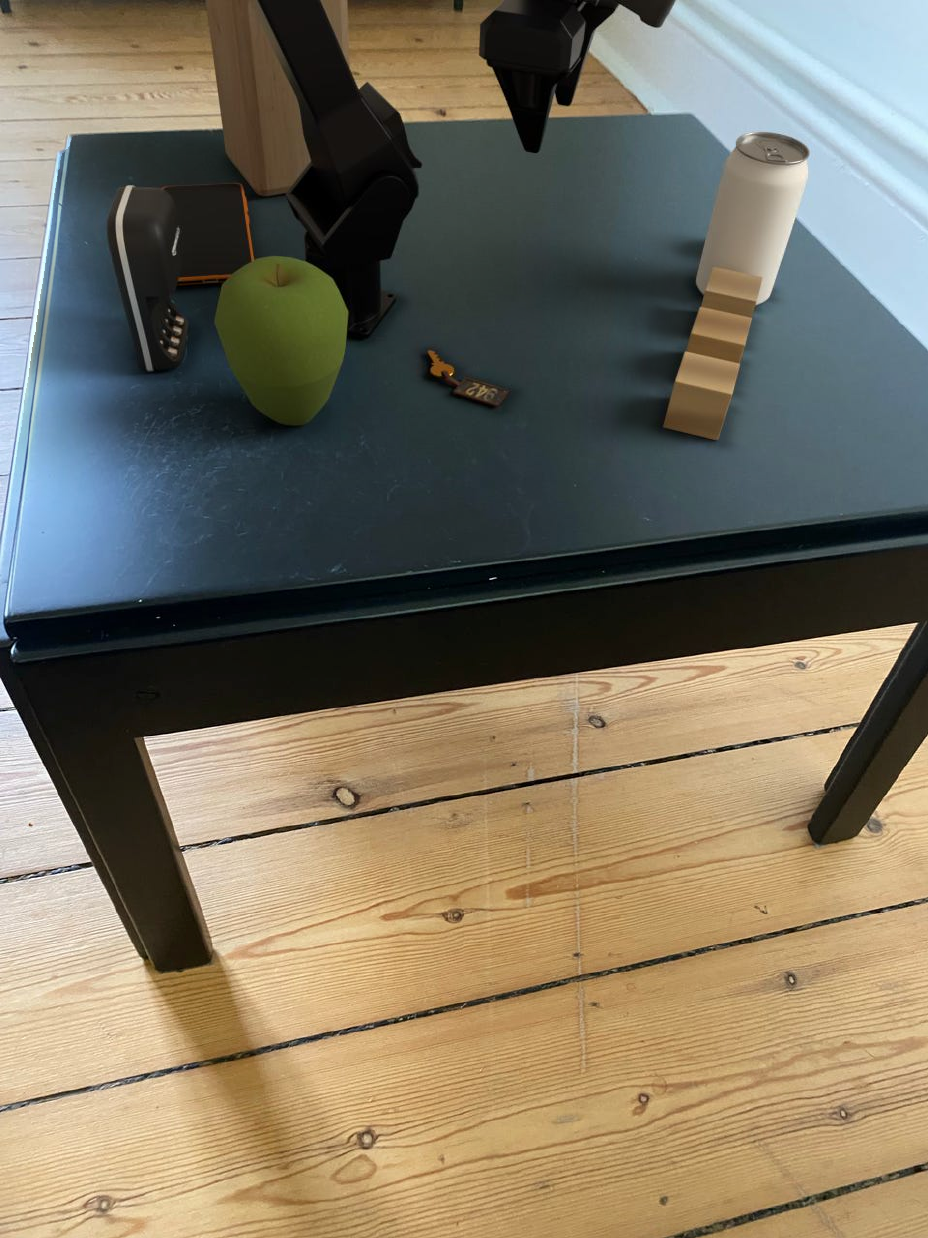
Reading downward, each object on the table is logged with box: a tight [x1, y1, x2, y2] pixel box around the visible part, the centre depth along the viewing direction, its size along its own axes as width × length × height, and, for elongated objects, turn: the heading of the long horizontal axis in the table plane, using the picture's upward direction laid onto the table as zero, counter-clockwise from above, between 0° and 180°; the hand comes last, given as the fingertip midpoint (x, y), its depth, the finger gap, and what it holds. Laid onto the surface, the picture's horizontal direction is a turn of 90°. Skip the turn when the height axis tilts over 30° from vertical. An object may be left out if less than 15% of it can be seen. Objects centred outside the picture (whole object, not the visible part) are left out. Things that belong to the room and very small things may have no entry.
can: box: [695, 131, 810, 307], centre depth 77 cm, size 6×6×12 cm
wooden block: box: [205, 0, 351, 197], centre depth 85 cm, size 10×10×20 cm
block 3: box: [662, 351, 741, 441], centre depth 68 cm, size 4×4×4 cm
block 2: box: [685, 306, 753, 364], centre depth 72 cm, size 4×4×4 cm
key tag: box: [427, 349, 510, 408], centre depth 71 cm, size 8×3×1 cm, turn 51°
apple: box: [213, 255, 348, 427], centre depth 63 cm, size 9×8×12 cm
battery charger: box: [106, 184, 190, 372], centre depth 68 cm, size 7×4×11 cm, turn 4°
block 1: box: [700, 267, 763, 319], centre depth 76 cm, size 4×4×4 cm
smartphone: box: [161, 182, 255, 286], centre depth 83 cm, size 8×17×1 cm, turn 12°
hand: (548, 127), depth 73 cm, fingers open, 9 cm apart
